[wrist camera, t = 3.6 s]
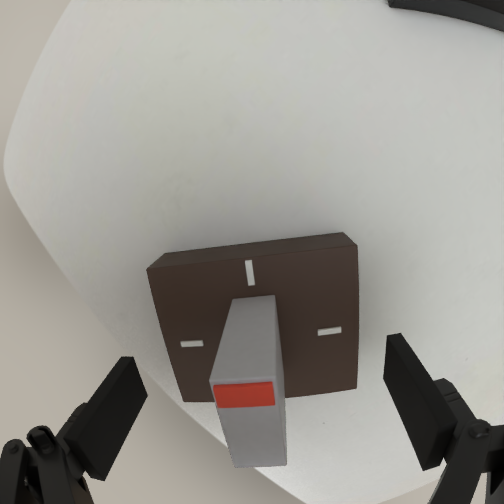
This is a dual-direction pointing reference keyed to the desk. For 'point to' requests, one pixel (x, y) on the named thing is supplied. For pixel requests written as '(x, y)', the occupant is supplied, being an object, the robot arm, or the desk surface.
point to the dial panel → (287, 303)
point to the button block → (460, 10)
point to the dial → (251, 384)
